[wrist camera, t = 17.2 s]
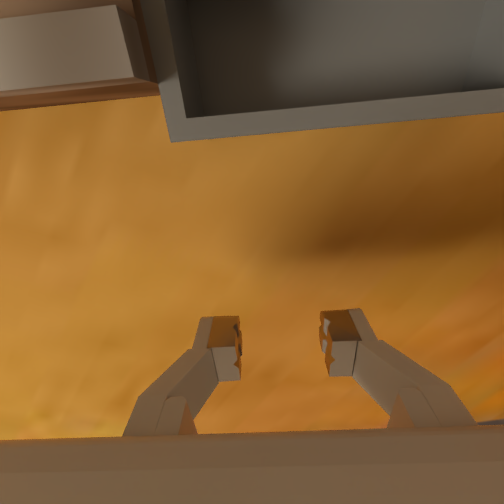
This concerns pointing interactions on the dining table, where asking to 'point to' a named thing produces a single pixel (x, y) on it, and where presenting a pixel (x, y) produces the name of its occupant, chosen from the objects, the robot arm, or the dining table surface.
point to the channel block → (73, 52)
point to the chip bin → (322, 63)
